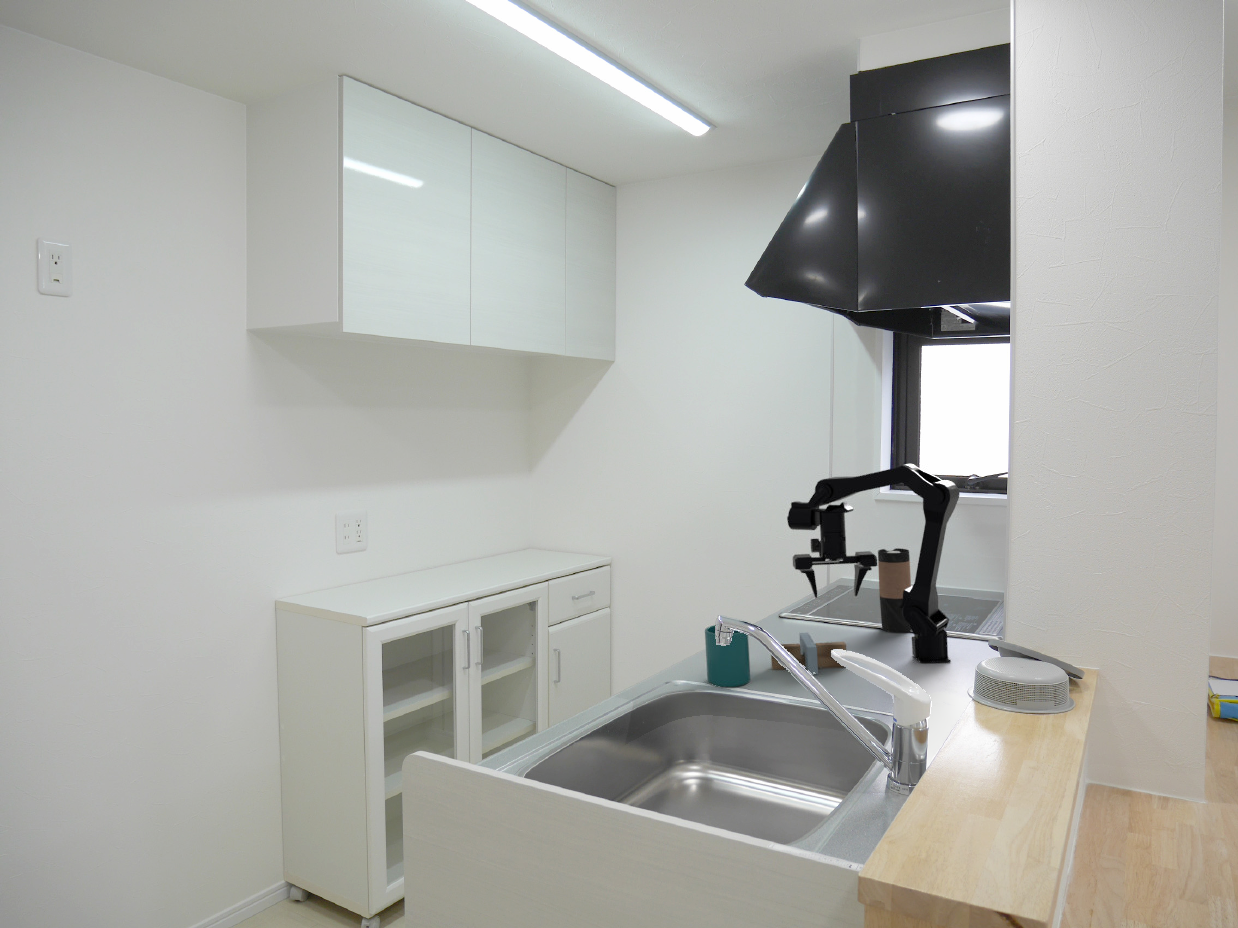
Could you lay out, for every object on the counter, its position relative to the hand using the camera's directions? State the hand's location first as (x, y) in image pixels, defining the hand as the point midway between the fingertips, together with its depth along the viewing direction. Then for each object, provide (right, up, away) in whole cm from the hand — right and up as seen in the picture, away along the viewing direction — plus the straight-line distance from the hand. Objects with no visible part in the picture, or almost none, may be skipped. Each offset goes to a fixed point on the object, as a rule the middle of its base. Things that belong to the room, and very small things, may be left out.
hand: (835, 596), depth 194 cm
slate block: (-9, -13, -13) cm, 21 cm away
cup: (-27, -15, -19) cm, 36 cm away
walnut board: (-10, -13, -14) cm, 21 cm away
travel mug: (+19, -11, +13) cm, 25 cm away
